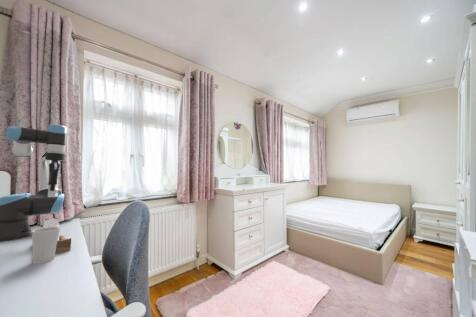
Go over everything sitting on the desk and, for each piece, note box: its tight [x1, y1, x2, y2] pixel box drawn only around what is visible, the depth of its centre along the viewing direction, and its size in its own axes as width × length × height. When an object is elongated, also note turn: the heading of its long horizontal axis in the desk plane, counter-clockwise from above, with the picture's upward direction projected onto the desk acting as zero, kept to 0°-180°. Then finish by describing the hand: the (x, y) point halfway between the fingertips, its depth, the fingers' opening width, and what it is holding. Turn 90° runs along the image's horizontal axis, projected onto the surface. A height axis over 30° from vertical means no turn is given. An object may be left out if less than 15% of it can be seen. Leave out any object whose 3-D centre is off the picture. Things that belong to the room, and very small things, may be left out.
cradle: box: [55, 234, 72, 255], centre depth 91 cm, size 22×10×5 cm, turn 50°
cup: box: [31, 226, 61, 265], centre depth 77 cm, size 8×8×12 cm
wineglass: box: [42, 217, 60, 228], centre depth 96 cm, size 6×6×12 cm
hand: (51, 196), depth 103 cm, fingers closed
